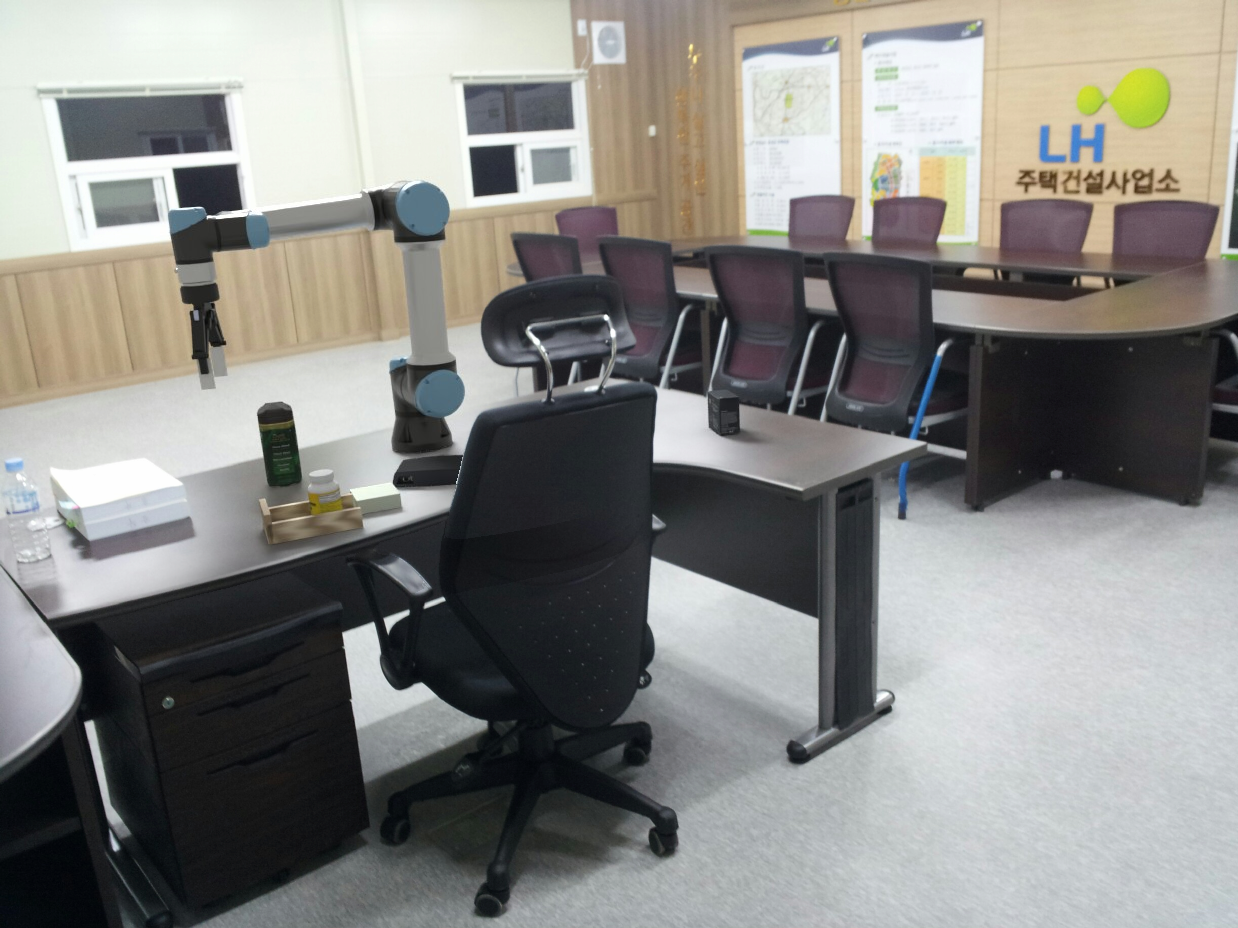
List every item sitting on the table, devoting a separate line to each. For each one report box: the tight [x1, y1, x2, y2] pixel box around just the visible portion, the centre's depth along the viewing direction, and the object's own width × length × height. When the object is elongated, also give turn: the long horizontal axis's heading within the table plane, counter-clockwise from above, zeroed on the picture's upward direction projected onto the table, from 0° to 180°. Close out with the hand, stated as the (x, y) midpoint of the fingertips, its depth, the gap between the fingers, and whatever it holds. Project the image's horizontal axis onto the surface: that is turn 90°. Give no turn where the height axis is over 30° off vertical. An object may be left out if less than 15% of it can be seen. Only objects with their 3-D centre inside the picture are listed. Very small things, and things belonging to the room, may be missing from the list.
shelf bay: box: [258, 492, 364, 546], centre depth 217 cm, size 18×11×6 cm, turn 113°
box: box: [707, 389, 741, 436], centre depth 268 cm, size 9×6×10 cm, turn 13°
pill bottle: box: [307, 468, 343, 515], centre depth 217 cm, size 6×6×11 cm
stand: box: [349, 481, 403, 515], centre depth 228 cm, size 9×9×3 cm
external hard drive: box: [392, 454, 464, 489], centre depth 245 cm, size 13×19×4 cm
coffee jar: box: [256, 401, 303, 488], centre depth 247 cm, size 10×8×19 cm
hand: (215, 382), depth 233 cm, fingers open, 13 cm apart
